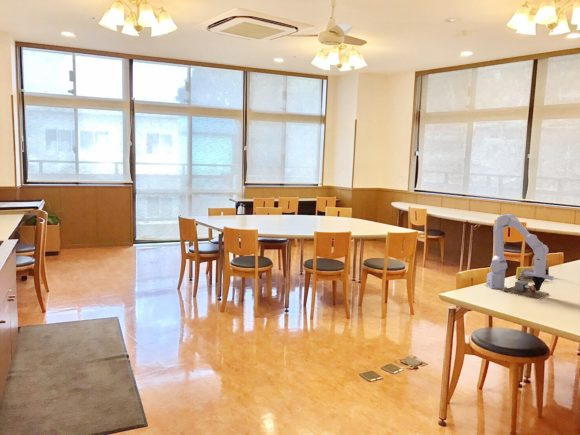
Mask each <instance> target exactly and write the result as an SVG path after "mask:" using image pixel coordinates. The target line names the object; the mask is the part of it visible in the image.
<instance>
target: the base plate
mask: <svg viewBox="0 0 580 435" xmlns="http://www.w3.org/2000/svg"><path fill="white" fill-rule="evenodd" d="M503 292H504V293H505V292H506V293H508V292H509V293H508V294H513V293H514V295H517V294H518V296H523V297H527V298H532V299H535V300H540V299H541V298H544V297H547V296H549V292H545V291H541V290H539V291H536V292H535V293H534V292H531V290H529V289H528V290H527V291H524V292H519V291H515V285H514V286H511V287H507V288H504V289H503Z"/></svg>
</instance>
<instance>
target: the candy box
mask: <svg viewBox="0 0 580 435" xmlns="http://www.w3.org/2000/svg"><path fill="white" fill-rule="evenodd" d="M525 272H534V267H531V266H518V267H517V266H516V273H515V279H532V278H533V277H532V276H526V275H525ZM532 280H533V279H532Z"/></svg>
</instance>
